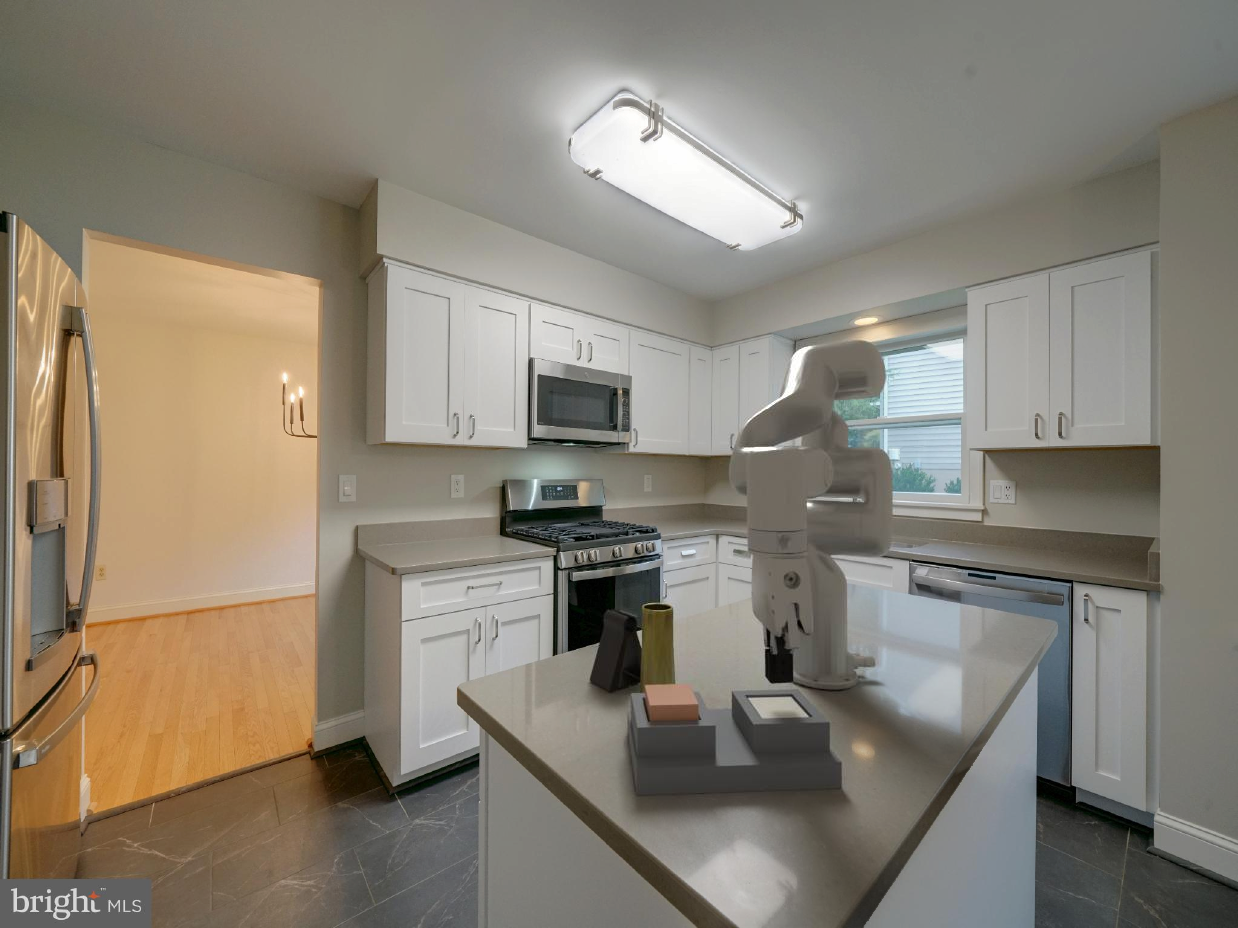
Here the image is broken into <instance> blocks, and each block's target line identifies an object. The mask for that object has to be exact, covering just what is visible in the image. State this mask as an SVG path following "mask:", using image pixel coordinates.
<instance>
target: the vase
mask: <svg viewBox="0 0 1238 928" xmlns="http://www.w3.org/2000/svg"><path fill="white" fill-rule="evenodd" d="M641 607H642V608H641V648H642V658H641V675H640V684H639V689H638V690H639V693H645V685H666V684H676V671H675V667H676V665H675V649H674V607H673V605H671V604H669V603H664V602H650V603H646V604H643V605H642V606H641Z"/></svg>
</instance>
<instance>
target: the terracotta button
mask: <svg viewBox="0 0 1238 928" xmlns="http://www.w3.org/2000/svg"><path fill="white" fill-rule="evenodd" d="M693 692H694V691H693V689H692V687H691V685H690V684H689V683H677V684H676V683H675V684H666V685H645V711H646V715H647V719H648V722H650V721H686V720H699V704H698V702H697V700H696V698H695V695H694V693H693Z"/></svg>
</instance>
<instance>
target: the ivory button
mask: <svg viewBox="0 0 1238 928" xmlns="http://www.w3.org/2000/svg"><path fill="white" fill-rule="evenodd" d="M748 700H749V702H750V703H751V705H752V706H753V708H754V709H755V710H756V712H757V713H758V715H759V716H760V718H794V717H809V716H808V715H807V714H806V713H805V712H804V711H803V710H802V709H801V707H800V706H799V705H798V704H797V703H796V702H795V701H794V700H793V698H792V697H763V698H748Z"/></svg>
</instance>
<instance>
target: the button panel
mask: <svg viewBox="0 0 1238 928" xmlns="http://www.w3.org/2000/svg"><path fill="white" fill-rule="evenodd" d="M693 693H694V695H695V698H696V700H697V702H698V704H699V720H686V721H650V722H648V719H647V715H646V711H645V693H640V692H639V693H638V692H635V693H634V692H632V693H631V694H630V711H629V710H627V737H628V745H629V751H630V758H631V765H632V772H633V779H634V780H633V781H634V786H635V792H636V796H655V795H658V796H659V795H681V794H682V795H683V794H684V795H685V794H710V793H713V794H714V793H740V792H741V793H742V792H766V791H767V792H768V791H770V792H771V791H794V790H796V791H797V790H820V789H821V790H822V789H825V790H826V789H842V788H843V772H842V771H843V767H842V766H843V765H842V764H843V762H842V760H840V758H839V757H838V756H837V755H836V753H834V751H833V750H832V749H831V725H830V723H831V722H830V721H829V720H828V719H827V717H825V715H824V714H823V713H821V712H820V710H819V709H818V708H817V707H816V706H815V705H814V704H813V703H812V702H811V701H810V700H809V699H808V698H807V696H805V695H804V694H803V692H802V691H800V690H799V689H796V688H794V689H792V688H791V689H761V690H760V689H759V690H758V689H756V690H751V689H750V690H731V708H708V707H707V705H706V703H705V701H704V698H703V697H702V695H701V693H700V691H693ZM763 697H792V698H793V700H794V701H795V702H796V703H797V704H798V705H799V706H800V707H801V709H802V710H803V711H804V712H805V713H806V714H807V715H808V716H809V717H794V718H760V716H759V715H758V713H757V712H756V710H755V709H754V708H753V706H752V705H751V703H750V702H749V700H748V698H763Z"/></svg>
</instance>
